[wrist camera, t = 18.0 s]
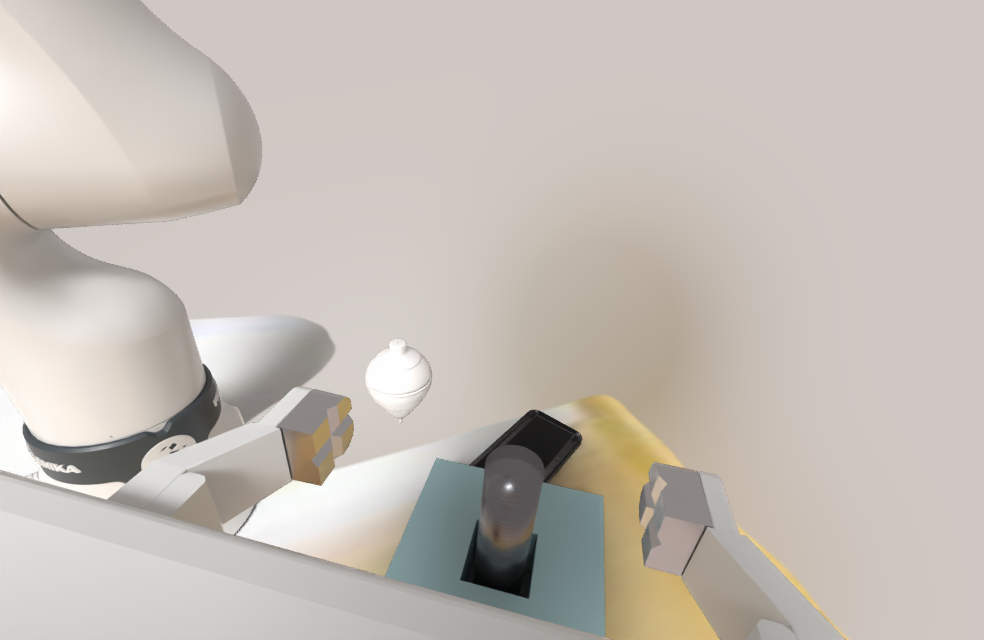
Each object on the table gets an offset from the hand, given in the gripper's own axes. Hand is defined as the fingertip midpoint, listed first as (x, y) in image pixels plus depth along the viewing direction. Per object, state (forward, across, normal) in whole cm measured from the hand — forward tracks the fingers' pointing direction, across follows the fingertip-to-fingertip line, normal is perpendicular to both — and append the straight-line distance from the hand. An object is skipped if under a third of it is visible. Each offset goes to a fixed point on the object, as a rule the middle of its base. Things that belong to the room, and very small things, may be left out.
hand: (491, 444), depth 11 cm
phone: (+28, 0, +30) cm, 42 cm away
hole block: (+12, 0, +30) cm, 32 cm away
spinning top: (+30, +16, +30) cm, 45 cm away
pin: (+12, 0, +29) cm, 31 cm away
